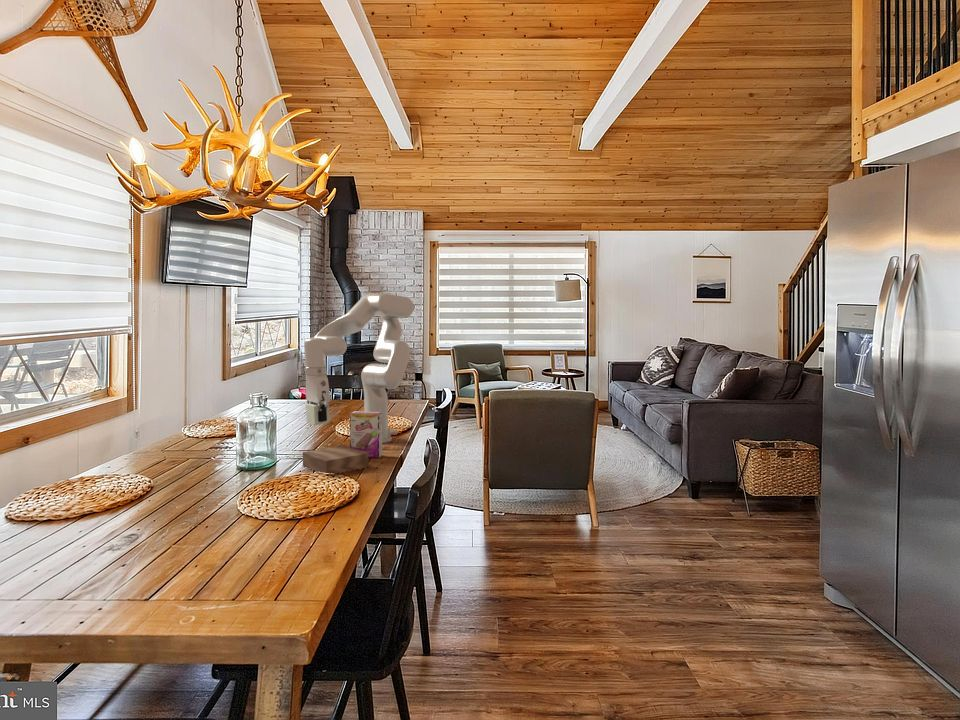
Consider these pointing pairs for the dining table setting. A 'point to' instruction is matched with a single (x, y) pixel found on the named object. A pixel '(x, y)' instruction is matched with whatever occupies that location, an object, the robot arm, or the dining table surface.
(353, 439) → the candy bar box
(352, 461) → the block
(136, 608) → the dining table surface
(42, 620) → the dining table surface
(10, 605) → the dining table surface
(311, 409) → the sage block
